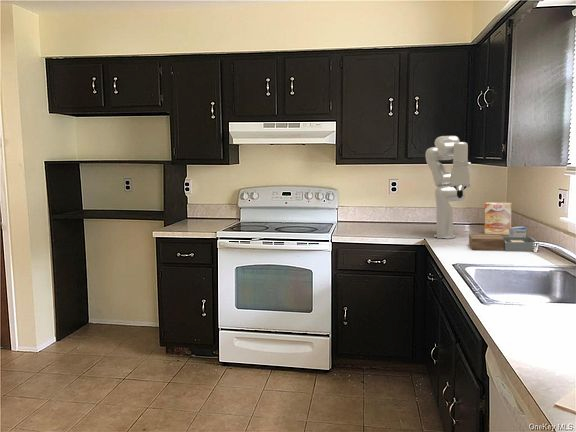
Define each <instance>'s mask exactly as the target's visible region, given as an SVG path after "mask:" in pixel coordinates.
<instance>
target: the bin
mask: <svg viewBox="0 0 576 432" xmlns="http://www.w3.org/2000/svg"><path fill="white" fill-rule="evenodd" d="M502 237H503V238H504V239H505V248H504V251H505V252H533V251H532V243H533V242H538V241H537V240H536V239H535V238H533V237H531V236H526V237H509V236H502ZM510 240H522V241H524V242H510ZM539 251H540V249H539V250H538V253H540V252H539Z"/></svg>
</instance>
